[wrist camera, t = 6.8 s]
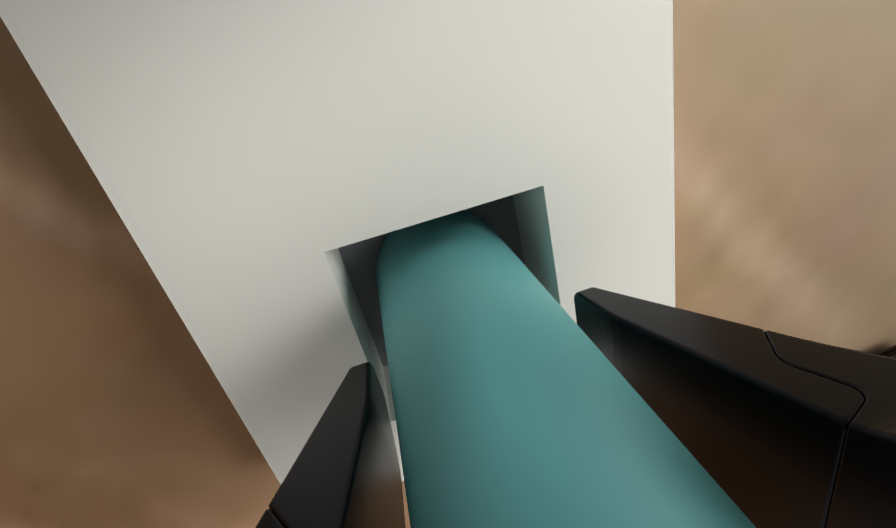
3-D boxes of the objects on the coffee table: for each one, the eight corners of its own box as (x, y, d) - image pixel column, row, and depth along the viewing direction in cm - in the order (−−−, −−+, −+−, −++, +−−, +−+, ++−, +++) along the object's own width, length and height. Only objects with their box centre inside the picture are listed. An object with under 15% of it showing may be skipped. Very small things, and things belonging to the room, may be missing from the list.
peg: (513, 304, 13) (767, 671, 5) (396, 341, 13) (478, 792, 5) (490, 190, 12) (806, 468, 4) (357, 229, 11) (385, 627, 3)
